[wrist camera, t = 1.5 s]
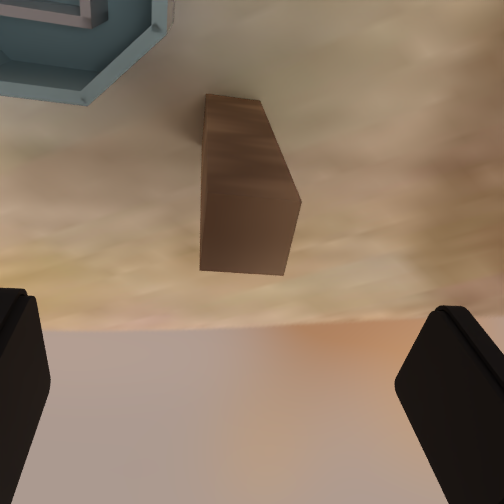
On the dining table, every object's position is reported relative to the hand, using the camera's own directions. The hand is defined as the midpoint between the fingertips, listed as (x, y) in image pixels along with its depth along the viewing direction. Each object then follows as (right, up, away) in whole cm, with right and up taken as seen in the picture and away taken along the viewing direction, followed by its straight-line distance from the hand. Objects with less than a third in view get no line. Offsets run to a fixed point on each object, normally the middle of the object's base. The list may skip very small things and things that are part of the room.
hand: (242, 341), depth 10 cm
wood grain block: (-1, +9, +14) cm, 17 cm away
